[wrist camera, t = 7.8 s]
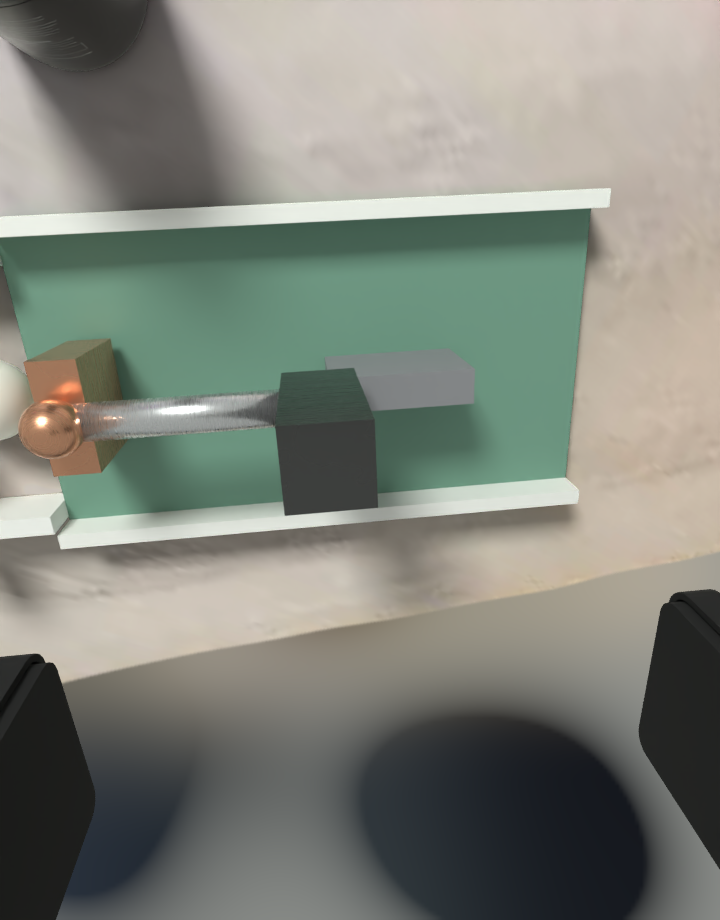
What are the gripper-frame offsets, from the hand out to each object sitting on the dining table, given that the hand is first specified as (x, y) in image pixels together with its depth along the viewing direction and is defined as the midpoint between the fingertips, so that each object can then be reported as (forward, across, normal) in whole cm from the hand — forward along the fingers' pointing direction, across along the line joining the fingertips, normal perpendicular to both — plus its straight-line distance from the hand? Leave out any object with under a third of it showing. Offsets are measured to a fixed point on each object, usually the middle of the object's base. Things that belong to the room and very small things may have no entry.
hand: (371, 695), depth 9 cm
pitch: (+24, +4, 0) cm, 24 cm away
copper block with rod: (+22, +6, 0) cm, 23 cm away
